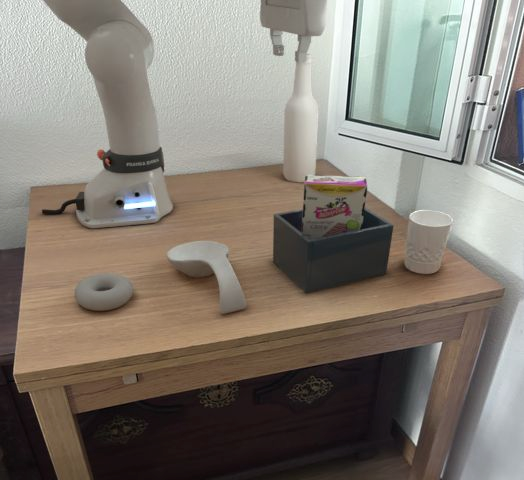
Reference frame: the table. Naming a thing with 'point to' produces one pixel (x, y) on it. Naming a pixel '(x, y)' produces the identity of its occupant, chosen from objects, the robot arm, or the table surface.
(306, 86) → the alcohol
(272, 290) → the table surface
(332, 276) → the holder
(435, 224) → the white cup
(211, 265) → the spoon rest
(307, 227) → the candy bar box
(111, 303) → the donut
